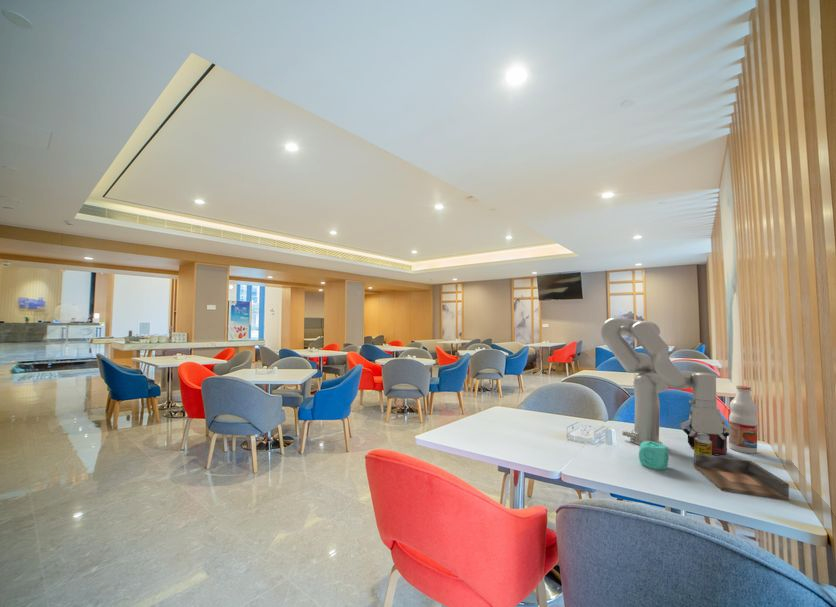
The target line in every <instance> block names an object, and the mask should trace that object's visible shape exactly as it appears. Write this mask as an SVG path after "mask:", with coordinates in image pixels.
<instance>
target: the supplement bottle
mask: <svg viewBox="0 0 836 607" xmlns="http://www.w3.org/2000/svg"><path fill="white" fill-rule="evenodd" d="M709 439H710V438H709V435H707V434H703V433H697V438H695V439H694V449H693V450H694V451H693V455H694V454H701V455H709V456H713V455H712V442H711V441H710V440H709Z"/></svg>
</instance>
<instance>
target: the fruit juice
mask: <svg viewBox="0 0 836 607" xmlns="http://www.w3.org/2000/svg"><path fill="white" fill-rule="evenodd" d="M735 389H736V393H735V397H734V398H733V399H732V400H731V401H730V402H729V408H730V413H729V416H728V427H729V428H731V429H732V430H731V432H730V433H729V435H728V447H729V448H730V449H732V450H733V451H735V452H740V453H744V454H752V455H753V454H757V452H758V417H757V416H756V415H757V412H758V406H757V404H756V403H755V402H754V401H753V398H752V395H751V391H752V387H750V386H748V385H747V386H745V385H736V387H735Z"/></svg>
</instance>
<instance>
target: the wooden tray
mask: <svg viewBox="0 0 836 607" xmlns="http://www.w3.org/2000/svg"><path fill="white" fill-rule="evenodd" d="M694 467H695V468H694ZM693 468H694V469H696V471H698V472H699V471H700V472H701V473H702V475H703V476H704V475H705V476H706V477H707V478H708V479H707V478H706V477H705V476H704V477H705V478H706V479H707V480H709V481H710V482H711V483H712V482H713V483H714V484H715V485H714V484H713V483H712V484H713V485H714V486H715V487H716V488H718V489H719V488H720V489H721V490H720V489H719V490H720V491H723V490H726V491H725V492H730V491H733V492H732V493H737V492H739V493H738V494H744V495H752V496H758V497H764V498H765V497H766V498H771V499H778V500H779V499H780V500H785V501H789V499H790V498H789V495H790V493H789V492H790V484H789V482H786V481H784V480H783V479H781V478H780V477H778V476H776V475H775V474H773V473H771V472H770V471H768V470H766V469H765V468H763V467H762V466H760V464H759V465H758V464H757V463H755V462H754V461H752V460H748V459H739V458H732V457H724V456H723V457H722V456H718V455H711V456H709V455H701V454H694V453H693ZM700 472H699V473H700Z"/></svg>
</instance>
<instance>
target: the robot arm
mask: <svg viewBox="0 0 836 607" xmlns="http://www.w3.org/2000/svg"><path fill="white" fill-rule="evenodd" d="M600 331H601V332H600V335H601V338H602V340H603V342H604V343H605V345H606V347H607V348H608V349H609V350H610V351H611V353H612V355H613V356H614V357H615V358H616V360H617V361H618V362H619V364H620V365H621V366H622V368H623V369H624V370H625V371H626V372H627V373H629V374H638V375H636V376H635V378H634V380H633V390H634V427H633V429H632V430H631V431H625V430H623V431H622V434H621V435H622V436H623V437H624V436H625V437H627V438H629V440H630V442H632V443H633V444H635V445H639V446H640V445H641V443H642V442H644V441H651V442H656V443H660V444H663V445H664V443H663V442H662V441H660V412H661V410H660V409H661V407H660V406H661V404H660V398H659V394H660V393H663V392H666V391H667V390H668V389H669V387H670V388H671V389H674V390H682V389H683V390H684V389H692V399H689V400H688V403H689V404H691V406H690V411H689V417H688V420H685V421H684V422H683V421H682V422H681V423H679V426H680V428H681V429H682V431H683V432H684V433H685V434H686V435H687V443H688V445H689V447H690V446H692V447H694V437H693V435H694V434H695V433H696V432H697V433H704V434H716V435H717V436H718V437H717V447H718V448H719V449H721V450H723V447H724V439H725V438H726V437H727V438H728V437H729V433H730V432H731V430H732V429H731V428H729V425H727V424H726V425H727V426H726V425H724V424H725V423H724V424H722V418H723V417H722V413H721V410H720V408H718V407H717V378H716V375H715V374H713V373H709V372H698V371H697V372H695V371H691V370H685V369H684V370H683V369H682V370H680V369H678V368H677V367H676V366H675V364H674V363H673V362H672V360H671V359H670V356H669V350H670V349H669V348H670V347H669V345H668V344H667V343H666V342H665V341H664V339H662V338H661V336H660V333H661V330H660V328H659V326H658V324H656V323H655V322H652V321H645V320H638V319H631V318H622V317H621V318H620V317H612V318H608V319H606V320H605V321H604V322H603V323H602V325H601V330H600ZM623 336H627V337H632V338H634V339H635V340H636V341H637V343H638V344H640V346H641V347H642V348H643V350H645V352H646V353H643V352H637V351H636V350H635V349H634V348H633V347H632V346H631V344H630V343H629V342H628V341H627V340H626V339H624V337H623ZM687 426H688V428H689V429H687ZM723 428H725V431H724V432H723Z"/></svg>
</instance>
